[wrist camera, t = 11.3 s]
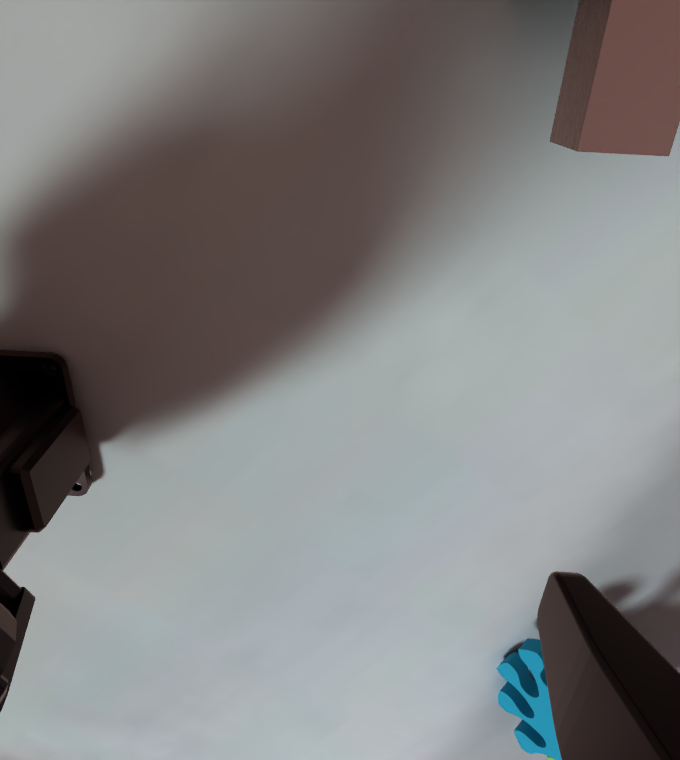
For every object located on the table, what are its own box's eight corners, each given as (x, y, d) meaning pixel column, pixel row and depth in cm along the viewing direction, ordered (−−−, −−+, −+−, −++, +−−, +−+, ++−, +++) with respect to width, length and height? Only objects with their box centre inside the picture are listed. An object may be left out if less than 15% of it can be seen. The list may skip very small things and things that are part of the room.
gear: (520, 616, 25) (765, 822, 20) (583, 546, 29) (806, 705, 23) (464, 724, 32) (636, 901, 26) (521, 657, 35) (683, 800, 30)
